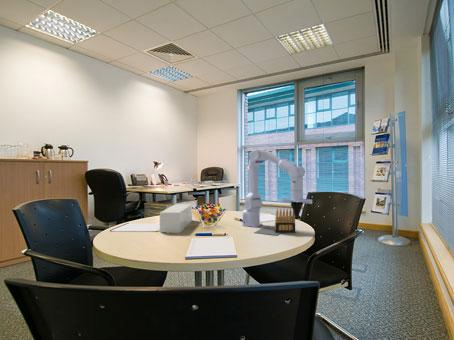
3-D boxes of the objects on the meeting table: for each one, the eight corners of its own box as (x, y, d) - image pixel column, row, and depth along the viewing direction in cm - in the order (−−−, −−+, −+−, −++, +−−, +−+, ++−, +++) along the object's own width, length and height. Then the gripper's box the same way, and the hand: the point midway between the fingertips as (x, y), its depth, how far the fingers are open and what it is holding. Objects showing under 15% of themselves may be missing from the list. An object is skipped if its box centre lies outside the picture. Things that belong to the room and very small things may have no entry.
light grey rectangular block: (175, 220, 168) (175, 204, 168) (192, 220, 167) (192, 204, 167) (159, 233, 136) (159, 212, 136) (179, 233, 135) (179, 212, 135)
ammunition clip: (275, 232, 132) (276, 209, 131) (274, 231, 133) (275, 208, 133) (295, 232, 133) (296, 209, 132) (294, 231, 135) (295, 208, 134)
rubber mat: (254, 233, 133) (254, 232, 133) (265, 226, 147) (265, 226, 147) (276, 235, 127) (276, 235, 127) (286, 228, 141) (286, 228, 141)
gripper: (280, 190, 130) (280, 217, 130) (310, 191, 123) (310, 220, 123) (284, 189, 136) (284, 215, 136) (313, 190, 129) (313, 217, 129)
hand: (297, 217), depth 130 cm, fingers closed
